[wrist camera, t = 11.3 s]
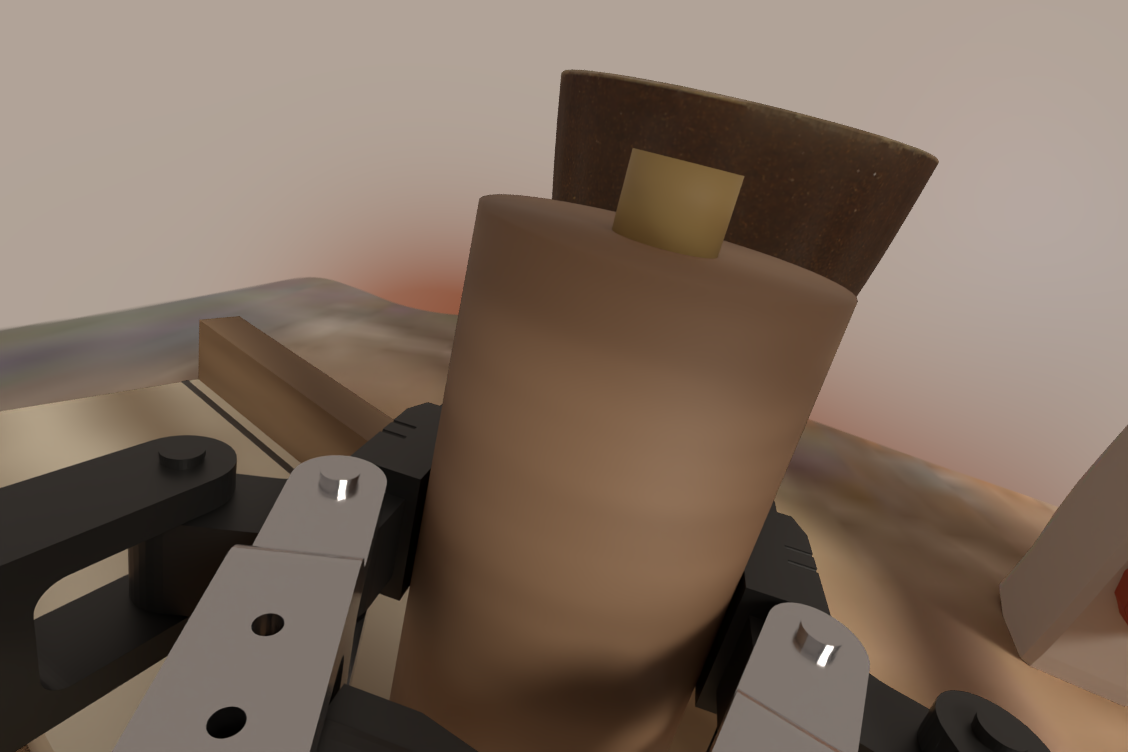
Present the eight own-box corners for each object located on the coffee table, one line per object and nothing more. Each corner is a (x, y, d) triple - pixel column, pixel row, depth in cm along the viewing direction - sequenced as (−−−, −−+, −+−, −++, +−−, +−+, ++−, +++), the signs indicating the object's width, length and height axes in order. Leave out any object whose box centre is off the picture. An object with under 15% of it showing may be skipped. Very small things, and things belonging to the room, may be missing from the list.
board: (235, 407, 26) (239, 316, 25) (810, 876, 14) (887, 751, 12) (-108, 477, 18) (-132, 349, 17) (525, 1731, 6) (645, 1668, 4)
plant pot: (775, 609, 22) (989, 148, 16) (424, 456, 26) (496, 39, 20) (787, 451, 36) (908, 167, 30) (554, 366, 39) (620, 99, 34)
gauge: (496, 549, 19) (594, 139, 14) (648, 601, 18) (797, 190, 14) (313, 894, 10) (426, 94, 6) (600, 1014, 9) (968, 231, 5)
